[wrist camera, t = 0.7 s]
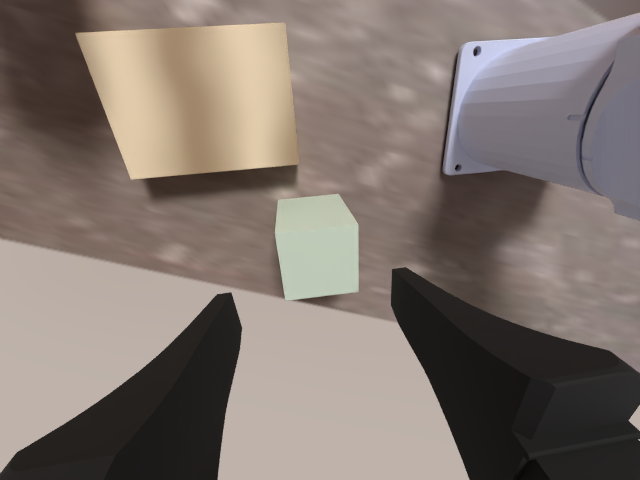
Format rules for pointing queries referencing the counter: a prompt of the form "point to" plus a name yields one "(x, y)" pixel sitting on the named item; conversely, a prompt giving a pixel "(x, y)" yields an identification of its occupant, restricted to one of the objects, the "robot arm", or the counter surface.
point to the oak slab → (196, 97)
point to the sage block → (316, 247)
